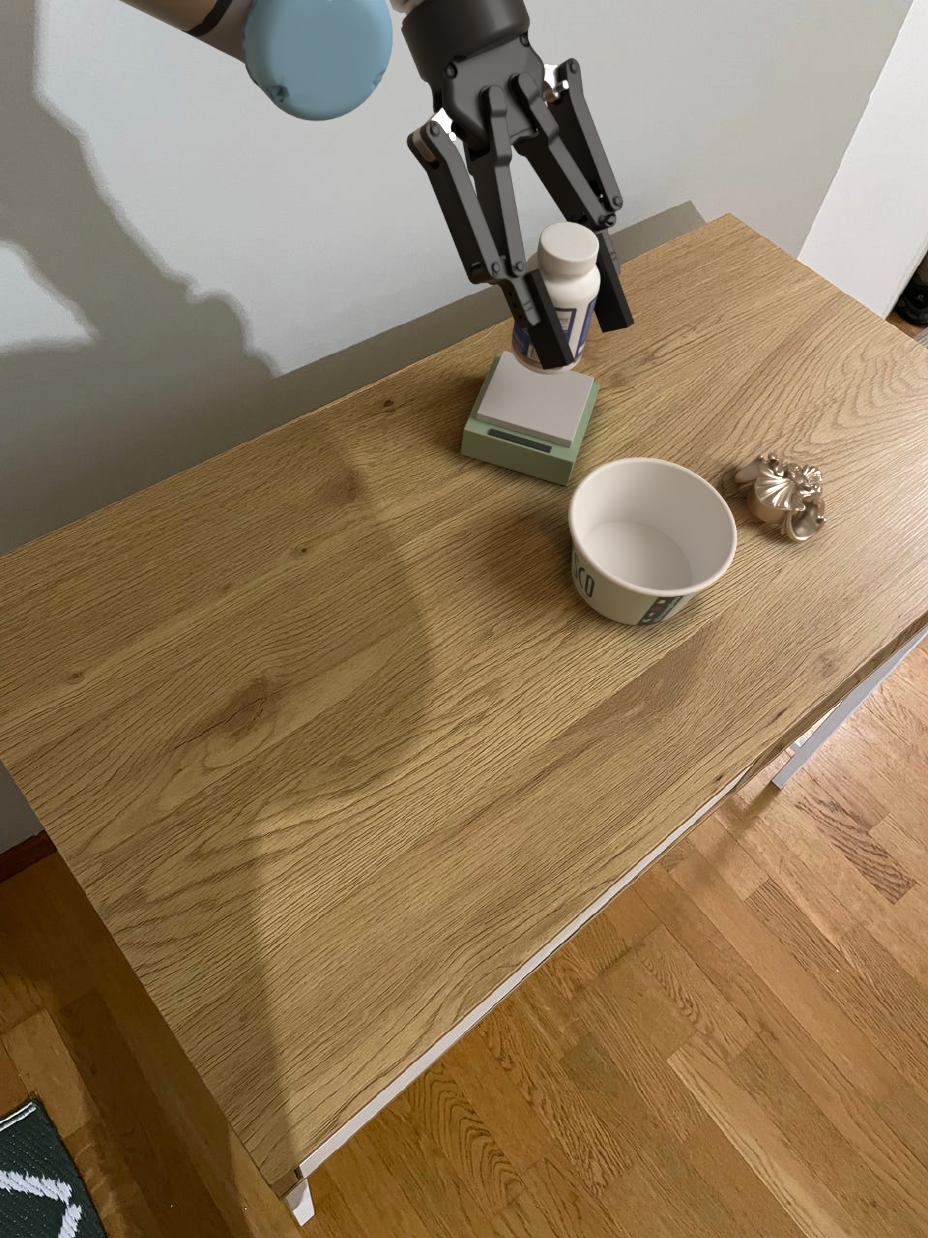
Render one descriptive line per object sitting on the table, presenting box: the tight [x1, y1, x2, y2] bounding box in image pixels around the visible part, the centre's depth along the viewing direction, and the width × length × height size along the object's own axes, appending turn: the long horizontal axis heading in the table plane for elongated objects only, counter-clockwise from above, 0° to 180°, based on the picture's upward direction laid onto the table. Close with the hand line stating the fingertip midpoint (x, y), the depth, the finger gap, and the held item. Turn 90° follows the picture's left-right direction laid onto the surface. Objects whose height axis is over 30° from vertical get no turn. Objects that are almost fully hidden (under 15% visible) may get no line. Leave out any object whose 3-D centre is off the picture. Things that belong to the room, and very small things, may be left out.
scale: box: [460, 350, 601, 487], centre depth 76 cm, size 9×9×4 cm
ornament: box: [734, 451, 827, 543], centre depth 74 cm, size 8×7×4 cm
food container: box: [567, 456, 738, 626], centre depth 68 cm, size 12×12×6 cm
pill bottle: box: [510, 221, 600, 375], centre depth 66 cm, size 5×5×10 cm
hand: (589, 345), depth 66 cm, fingers closed on pill bottle, 5 cm apart
